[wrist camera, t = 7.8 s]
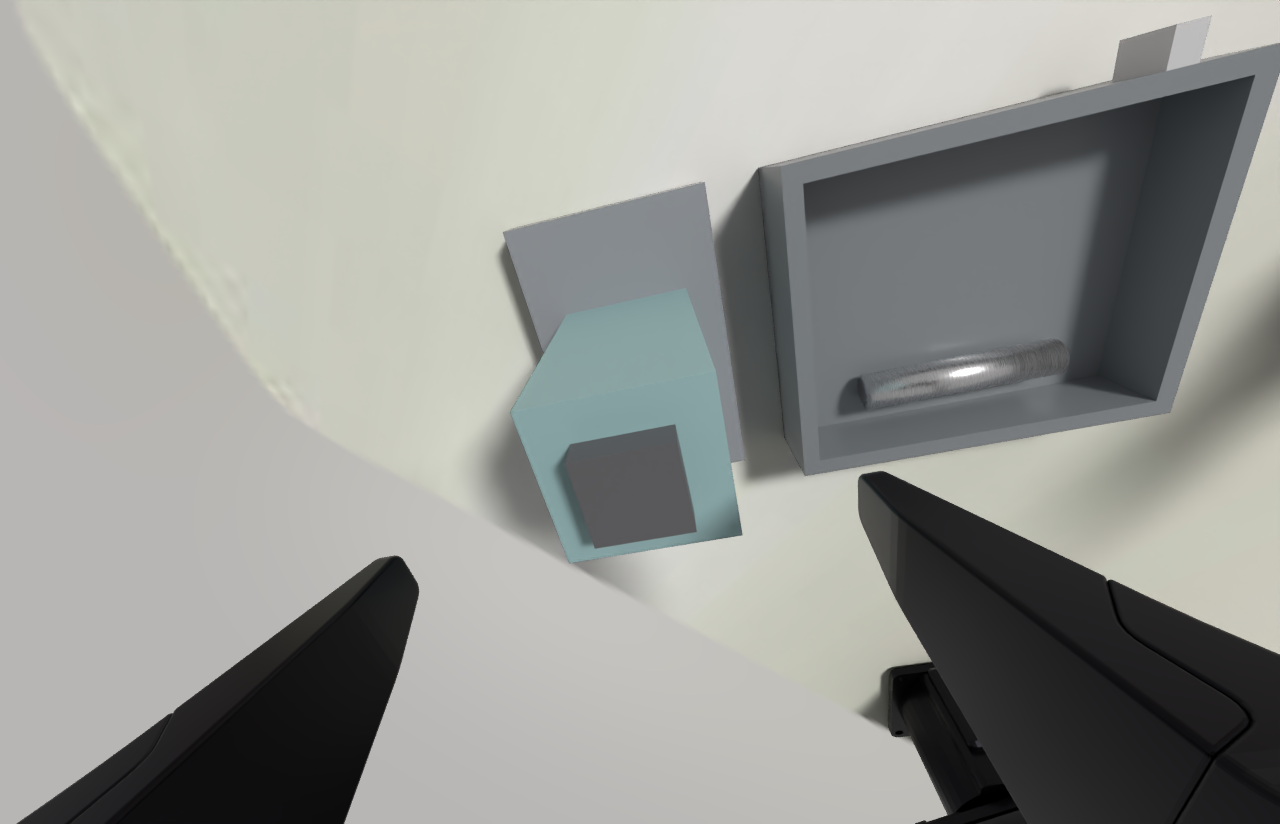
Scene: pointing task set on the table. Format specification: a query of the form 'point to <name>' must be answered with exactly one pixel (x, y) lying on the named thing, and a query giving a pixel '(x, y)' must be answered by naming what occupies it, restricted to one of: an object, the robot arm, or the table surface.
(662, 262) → the lid panel
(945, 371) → the rod
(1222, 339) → the table surface
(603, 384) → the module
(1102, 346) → the case
